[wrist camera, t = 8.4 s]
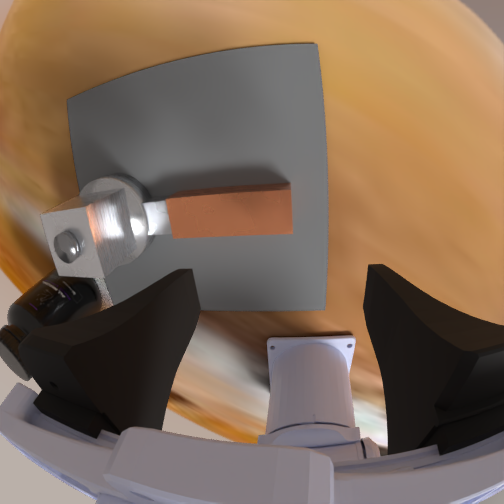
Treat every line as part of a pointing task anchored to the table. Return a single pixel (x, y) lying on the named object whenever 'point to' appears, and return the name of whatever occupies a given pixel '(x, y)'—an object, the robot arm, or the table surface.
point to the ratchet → (201, 210)
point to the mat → (219, 167)
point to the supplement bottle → (46, 312)
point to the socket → (90, 233)
